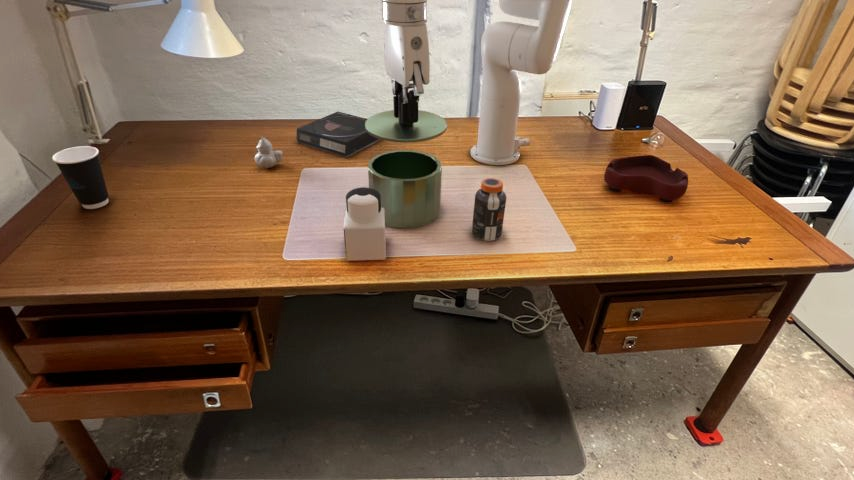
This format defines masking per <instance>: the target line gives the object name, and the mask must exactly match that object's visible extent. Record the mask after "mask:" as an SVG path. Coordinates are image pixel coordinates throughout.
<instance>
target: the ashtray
mask: <svg viewBox="0 0 854 480" xmlns="http://www.w3.org/2000/svg"><path fill="white" fill-rule="evenodd" d="M603 180H604V182H605V183H606V185H607V186H608V187H607V189H608V190H609V191H611V192H614V193H620V192H622V191H630V192H633V193H637V194H640V195H644V196H645V195H646V196H655V197H656V198H658V200H659V201H660V202H662V203H666V204H671V203H673V202H674V201H676V200H678V199H680V198H682V197H684V195H685V194H686V192H687V190H688V187H689V186H688V185H689V175H688V173H687V172H685V171H684V170H682V169H680V168H678V167H676V168H675V169H672V165H671V163H670V162H667V160H664V159H663V158H660V157H658V156H655V155H653V154H644V155H633V156H626V157H625V156H624V157H618V158H613V159H611V160H610V161H609V163H608V164H607V166H606V168H605V171H604V175H603Z"/></svg>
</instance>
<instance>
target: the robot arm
mask: <svg viewBox="0 0 854 480" xmlns="http://www.w3.org/2000/svg"><path fill="white" fill-rule="evenodd" d="M572 1H573V0H498V5H499V9H500V10H501V11H502V13H504V14H505V15H508V16H512V17H517V18H522V19H527V20H535V21H539V22H538V26H536V25H530V24H525V23H524V24H523V23H518V22H512V21H496V22H493V23H490V24H489V25H488V26H487V27H486V28H485V29H484V30H483V33H482V36H481V39H480V54H481V65H482V67H481V68H482V77H481V78H482V80H481V81H482V82H481V93H480V94H481V95H480V107H479V117H478V130H477V132H478V133H477V144H475V145H473V146H472V147H471V149H470V157H471V158H473V159H474V160H475V161H476V162H479V163H481V164H485V165H490V166H506V165H511V164H513V163H516V162H517V161H518V160H519V158H520V151H519V150H518V149H520V148H521V147H527V146H530V145H531V139H530V138H529V137H525V138H521V136H517V130H518V129H517V128H518V123H519V122H518V120H519V113H520V106H521V98H522V81H521V77H520V76H519V75H520V74H519V72H523V73H528V74H534V75H544V74H547V73H548V72H549V71H550V70H551V69H552V68H553V65H554V63H555V61H556V59H557V55H558V53H559V50H560V45H561V42H562V38H563V35H564V31H565V28H566V24H567V21H568V19H569V18H568V17H569V15H570V11H571V7H572ZM427 17H428V0H381V20H382V21H381V22H382V23H383V24H384V67H385V68H384V69H385V72H386V74H387V76H389V78H390V80H391V85H392V87H391V90H392V95H393V97H392V100H393V110H394V117H396V118H399V115H398V94H399V93H402V92H403V102H401V118H402V123H403V124H410V123H416V122H418V110H419V102H420V97H421V96H422V95H424V93H425V89H424V85H425V86H426V85H427V86H428V85H429V84H430V81H431V65H430V64H431V63H430V45H429V34H428V27H427V22H428V19H427ZM410 82H411V83H410ZM409 89H410V90H409ZM408 92H409V93H408Z"/></svg>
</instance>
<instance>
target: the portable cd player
mask: <svg viewBox="0 0 854 480" xmlns="http://www.w3.org/2000/svg"><path fill="white" fill-rule="evenodd" d="M367 119H368V118H366V117H361V116H357V115H354V114H350V113H346V112H342V111H336V112H332V113H331V114H328V115H326V116H324V117H321V118H318V119H316V120H314V121H311V122H309V123H306V124H304V125H301V126H299V127H296V138H295V139H296V141H297V142H298V144H301V145H304V146H307V147H310V148H314V149H316V150H320V151H323V152H327V153H330V154H334V155H337V156H340V157H343V158H349V157H351V156H353V155H355V154H357V153H359V152H360V151H362V150H364V149H366V148H368V147H370V146H372V145H374V144H376V143H377V142H380V141H382V140H381V139H378V138H375V137H373V136H371V135H370V134H369V133H368V132H367V131H366V129H365V122H366V120H367Z"/></svg>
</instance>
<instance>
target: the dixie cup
mask: <svg viewBox="0 0 854 480" xmlns="http://www.w3.org/2000/svg"><path fill="white" fill-rule="evenodd" d="M99 153H100V151H99V149H98V148H97V147H94V146H90V145H89V146H88V145H84V146H83V145H81V146H80V145H79V146H72V147H69V148H64V149H62V150H59V151H57V152H56V153H54V154H53V155H52V157H51V160H52V161H53V162H54V163H55V164H56V165H57V168H58V169H59V170H60V172H61V174H62V176H63V177H64V179H65V181H66V182H67V185H68V186H69V188H70V190H71V191H72V193H73V194H74V196H75V198H76V200H77V201H78V203H79V204H81V207H83V208H84V209H87V210H93V209H99V208H102V207H104V206H107V204H108V203H109V202H110V201H109V192H108V188H107V183H106V180H105V176H104V172H103V168H102V164H101V160H100V156H99Z"/></svg>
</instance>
